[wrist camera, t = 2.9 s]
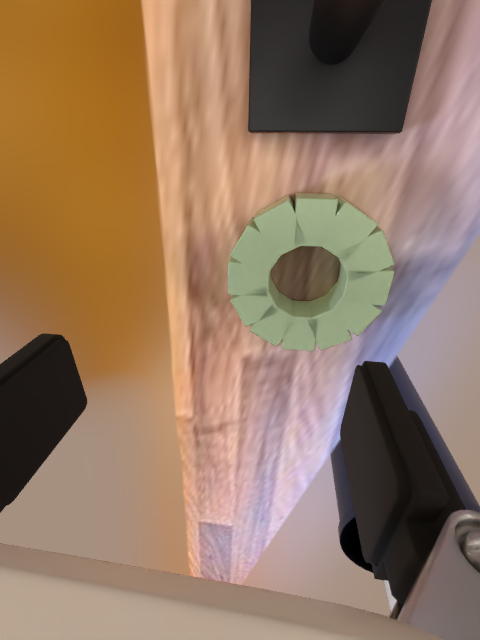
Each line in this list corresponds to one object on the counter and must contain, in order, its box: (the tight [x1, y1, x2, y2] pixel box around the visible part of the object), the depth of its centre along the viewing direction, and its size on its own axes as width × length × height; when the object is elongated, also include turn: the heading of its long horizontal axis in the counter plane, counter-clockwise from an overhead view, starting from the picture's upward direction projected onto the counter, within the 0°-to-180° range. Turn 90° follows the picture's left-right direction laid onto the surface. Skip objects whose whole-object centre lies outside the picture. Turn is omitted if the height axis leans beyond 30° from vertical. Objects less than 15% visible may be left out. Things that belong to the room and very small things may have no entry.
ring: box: [228, 193, 394, 351], centre depth 20 cm, size 10×10×3 cm
